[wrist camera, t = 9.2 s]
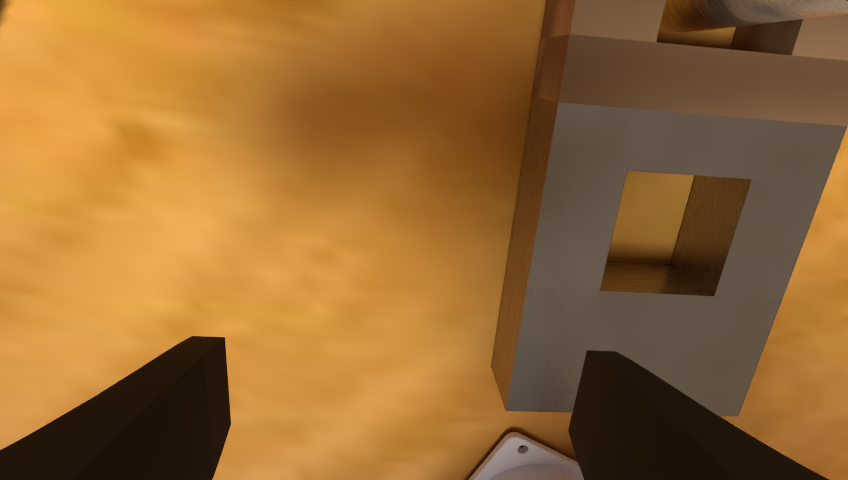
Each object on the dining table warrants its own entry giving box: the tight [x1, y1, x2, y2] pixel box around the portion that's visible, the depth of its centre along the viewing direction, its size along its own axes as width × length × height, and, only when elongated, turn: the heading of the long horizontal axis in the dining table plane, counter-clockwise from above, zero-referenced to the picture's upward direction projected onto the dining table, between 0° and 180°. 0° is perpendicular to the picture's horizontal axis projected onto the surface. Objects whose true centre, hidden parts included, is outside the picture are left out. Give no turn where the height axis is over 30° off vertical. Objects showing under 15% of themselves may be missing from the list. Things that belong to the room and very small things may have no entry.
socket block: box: [491, 97, 847, 416], centre depth 19 cm, size 12×10×3 cm
